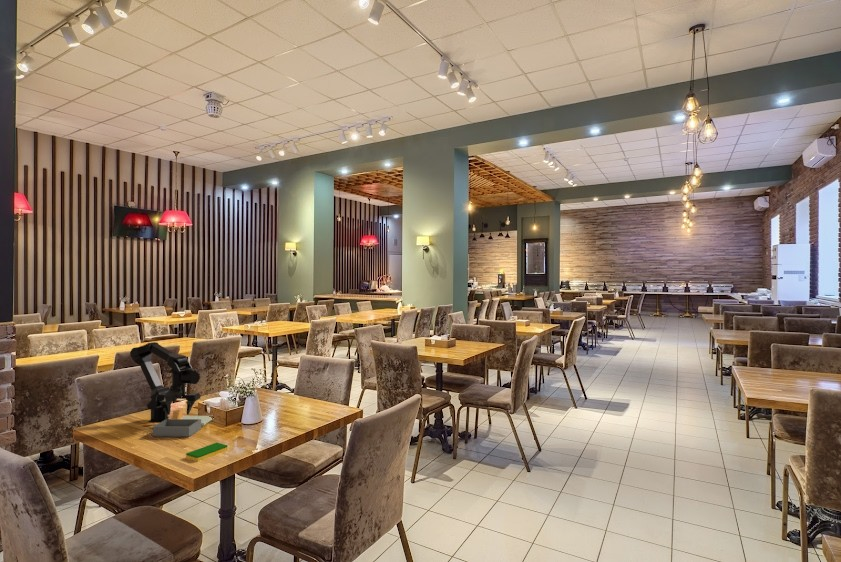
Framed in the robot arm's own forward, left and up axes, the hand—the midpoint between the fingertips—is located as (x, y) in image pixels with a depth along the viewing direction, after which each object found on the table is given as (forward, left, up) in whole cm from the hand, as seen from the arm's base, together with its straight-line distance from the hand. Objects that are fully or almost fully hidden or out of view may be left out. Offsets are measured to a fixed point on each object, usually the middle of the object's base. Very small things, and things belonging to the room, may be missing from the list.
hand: (178, 414), depth 217 cm
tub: (+7, -14, -4) cm, 16 cm away
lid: (+7, 0, -4) cm, 8 cm away
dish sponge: (+32, -38, -5) cm, 50 cm away
